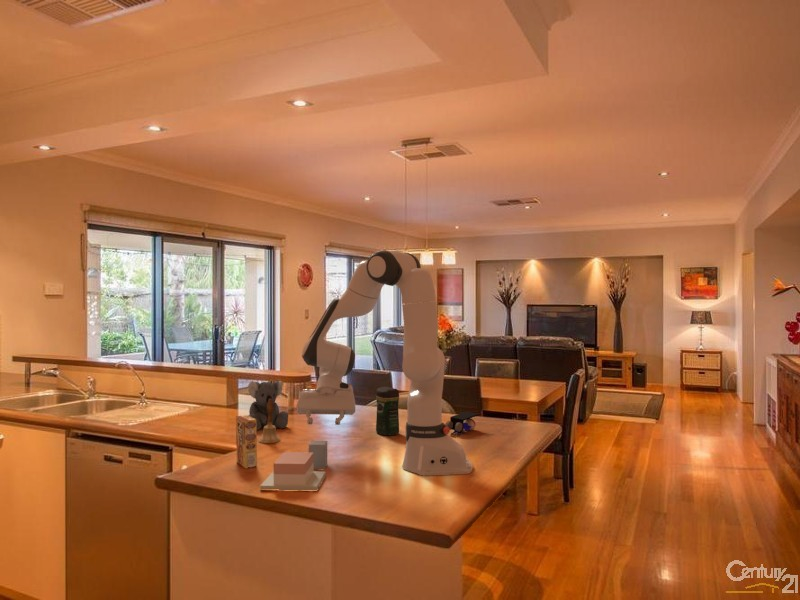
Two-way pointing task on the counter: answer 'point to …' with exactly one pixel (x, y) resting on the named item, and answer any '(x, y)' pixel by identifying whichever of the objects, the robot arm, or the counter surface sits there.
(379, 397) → the coffee jar
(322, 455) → the slate brick
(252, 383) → the koala plush
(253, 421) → the candy box
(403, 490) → the counter surface
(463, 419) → the figurine character
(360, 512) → the counter surface
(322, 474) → the brick tower base
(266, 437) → the hand bell
